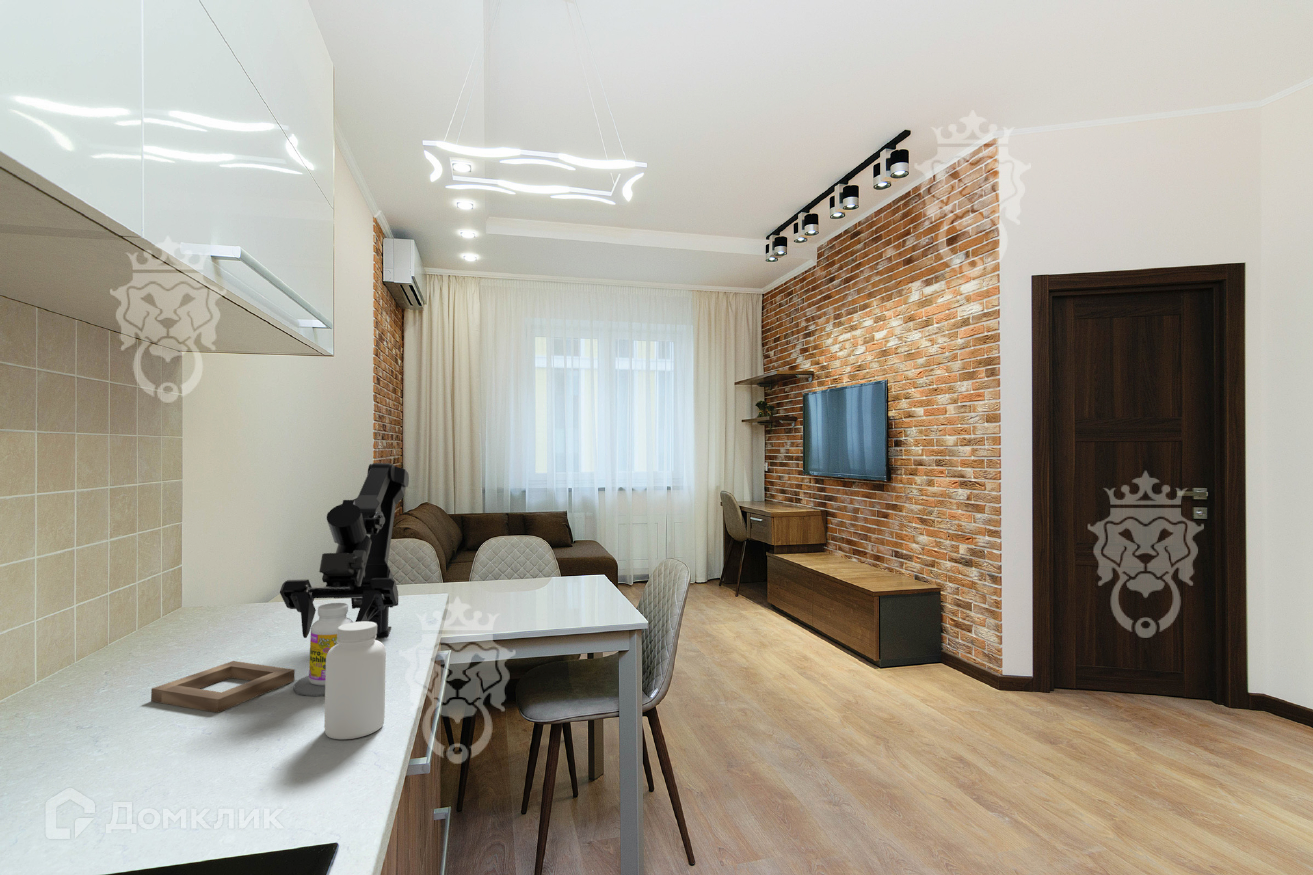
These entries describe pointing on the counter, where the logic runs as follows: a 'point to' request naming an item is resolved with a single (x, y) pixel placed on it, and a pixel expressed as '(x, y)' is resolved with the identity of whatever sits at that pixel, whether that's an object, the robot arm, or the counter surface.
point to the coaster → (308, 688)
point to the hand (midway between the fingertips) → (329, 635)
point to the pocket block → (193, 697)
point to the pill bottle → (355, 682)
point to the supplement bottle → (325, 638)
